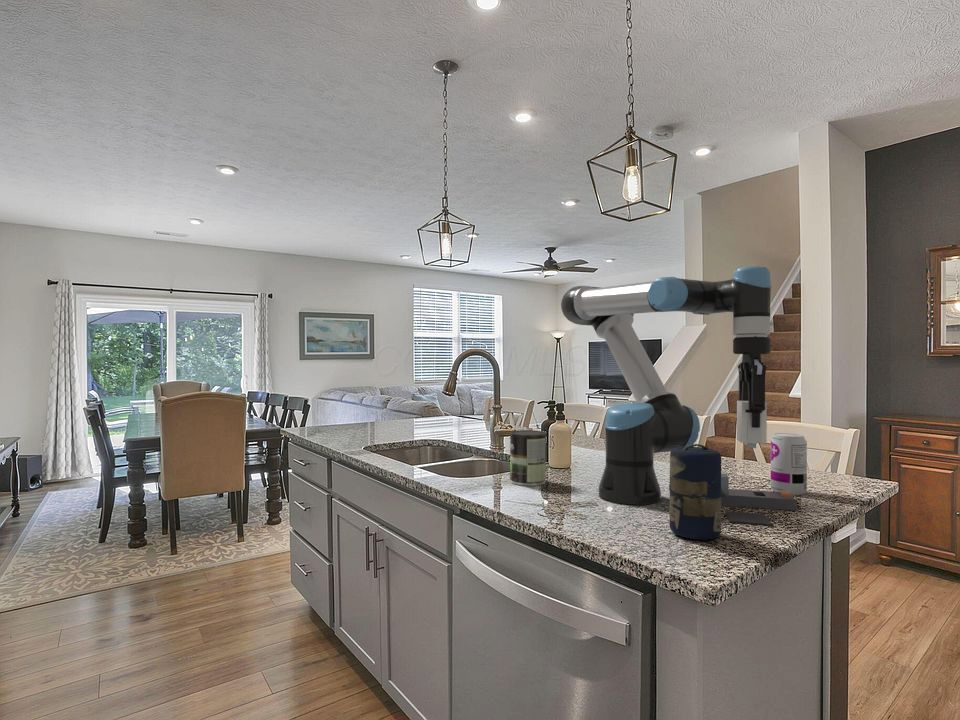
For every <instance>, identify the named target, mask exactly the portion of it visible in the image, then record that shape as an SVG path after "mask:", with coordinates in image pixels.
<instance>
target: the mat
mask: <svg viewBox="0 0 960 720" xmlns="http://www.w3.org/2000/svg"><path fill="white" fill-rule="evenodd" d="M724 514H725V516H726V518H727V519H728V521H729V523H731V524H742V525H743V524H744V525H754V526H755V525H756V526H757V525H758V526H766V527H767V526H769V527H772V526H773V523H772V522H771V521H770V519H769V518H768V517H767V515H765V514H764V513H759V512H748V511H747V512H744V511H735V510H734V511H733V510H724Z"/></svg>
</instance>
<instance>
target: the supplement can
mask: <svg viewBox="0 0 960 720" xmlns="http://www.w3.org/2000/svg"><path fill="white" fill-rule="evenodd" d="M807 442H808V441H807V440H806V438H805V436H804V435H803V434H797V433H780V432H776V433H773V434H772V436H771V438H770V489H771V490H772V491H773V490H774V491H773V492H780V491H786V492H789V493H790V494H791V496H802V495H801V494H803V495H804V494H805V493H807V491H808V483H807V482H808V460H807V459H808V448H807V447H808V445H807Z"/></svg>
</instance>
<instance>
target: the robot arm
mask: <svg viewBox="0 0 960 720" xmlns="http://www.w3.org/2000/svg"><path fill="white" fill-rule="evenodd" d="M771 283H772V282H771V271H770V269H769V268H767V267H765V266H743V267H739V268H736V269H735V270H733V274H732V278H731V279H727V280H719V281H718V280H717V281H707V280H700V279H698V280H697V279H687V278H680V277H679V278H678V277H675V276H662V277H658V278H656V279H655V280H652V281H645V282H635V283H629V284H627V283H626V284H621V285H620V284H619V285H613V286H605V287H597V286H590V285H578V286H577V285H576V286H573V287H570V288H569V289H568V290H567V291H566V292H564V295H562V298H561V302H560V308H561V312H562V315H563V316H564V317H565V318H566V320H568V321H569V322H571V323H572V324H574V325H579V326H591V327H592V328H593V330H594V332H595V334H596V335H597V337H598V338H600V339H603V340H604V341H605V342H606V344H607V347H608V348H609V350H610V353H611V354H612V356H613V358H614V360H615V362H616V364H617V366H618V368H619V370H620V371H621V374H622V376H623V378H624V380H625V382H626V384H627V386H628V388H629V390H630V391H631V394H632V396H633V398H634V400H635V402H631V403H620V404H615V405H613V406H611V407H609V408H608V409H607V411H606V413H605V414H606V415H605V423H604V426H605V467H604V469H603V473H602V476H601V479H600V482H599V485H598V496H599V498H601V499H602V500H606V501H609V502H613V503H617V504H625V505H648V504H649V505H650V504H655V503H659V502H660V501H661V500H662V492H661V491H662V490H661V487H660V483H659V481H658V477H657V475H656V472H655V468H654V467H655V465H654V454H657V453H658V454H659V453H670V452H671V450H672V449H673V448H676V447H688V446H690V445H694V444H696V442H697V440H698V439H699V432H700V431H701V424H700V418H699V416H698V414H697V413H696V411H695V410H694V409H693V408H691V407H689V406H686V405H682V404H681V401H680V400H679V399H678V397H677V395H676V394H675V393H674V392H670V391H668V390H667V388H666V387H665V385H664V383H663V381H662V380H661V377H660V376H659V374H658V372H657V370H656V368H655V366H654V364H653V362H652V360H651V359H650V358H649V355H648V354H647V352H646V350H645V348H644V346H643V344H642V342H641V340H640V338H639V337H638V335H637V332H636V331H635V329H634V328H633V326H632V325H633V323H634V315H635V314H645V313H646V314H648V313H649V314H650V313H668V312H669V313H670V312H687V313H692V314H693V315H705V316H707V315H708V316H709V315H711V314H722V313H732V314H733V317H732V335H733V336H735V337H734V338H733V340H732V353H733V354H734V355H742V359H741V362H740V363H738V365H737V369H738V401H748V402H749V409H747V410H745V412H746V413H747V442H754V443H756V444H762V411H765V402H766V372H767V366H766V364H764V362H762V356H761V355H769V354H770V353H771V341H772V339H771V338H770V337H768V336H769V335H770V334H771V327H772V326H773V325H774V322H773V321H771V298H772V297H771V293H772V284H771Z"/></svg>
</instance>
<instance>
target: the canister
mask: <svg viewBox="0 0 960 720" xmlns="http://www.w3.org/2000/svg"><path fill="white" fill-rule="evenodd" d="M721 474H722V454H721V453H720V451H718V450H716V449H714V448H709V447H707V446H705V445H702V444H698V443H694V444H693V445H690V446H688V447H676V448H673V449H672V450H671V451H670V452H669V483H668V490H669V503H668V504H669V528H670V530H671V532H673V533H674V534H676V535H677V536H679V537H683V538H687V539H692V540H701V541H705V540H713V539H717V538H718V537H719V536H721V533H722V532H721V531H722V505H721Z"/></svg>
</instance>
